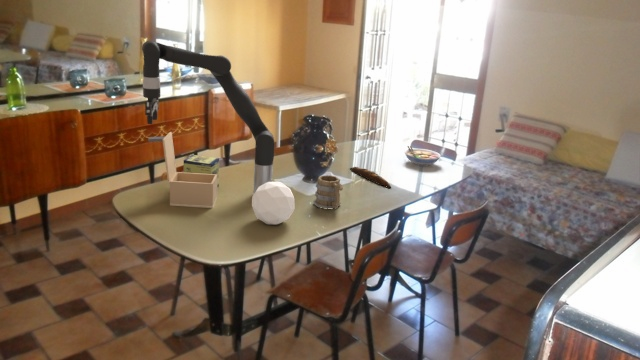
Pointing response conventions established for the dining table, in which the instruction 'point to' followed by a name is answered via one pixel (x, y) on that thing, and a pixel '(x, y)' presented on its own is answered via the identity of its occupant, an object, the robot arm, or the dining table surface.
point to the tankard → (328, 192)
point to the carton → (193, 189)
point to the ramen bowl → (422, 156)
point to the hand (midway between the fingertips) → (152, 121)
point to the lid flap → (167, 153)
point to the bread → (371, 176)
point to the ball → (273, 203)
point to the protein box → (202, 165)
